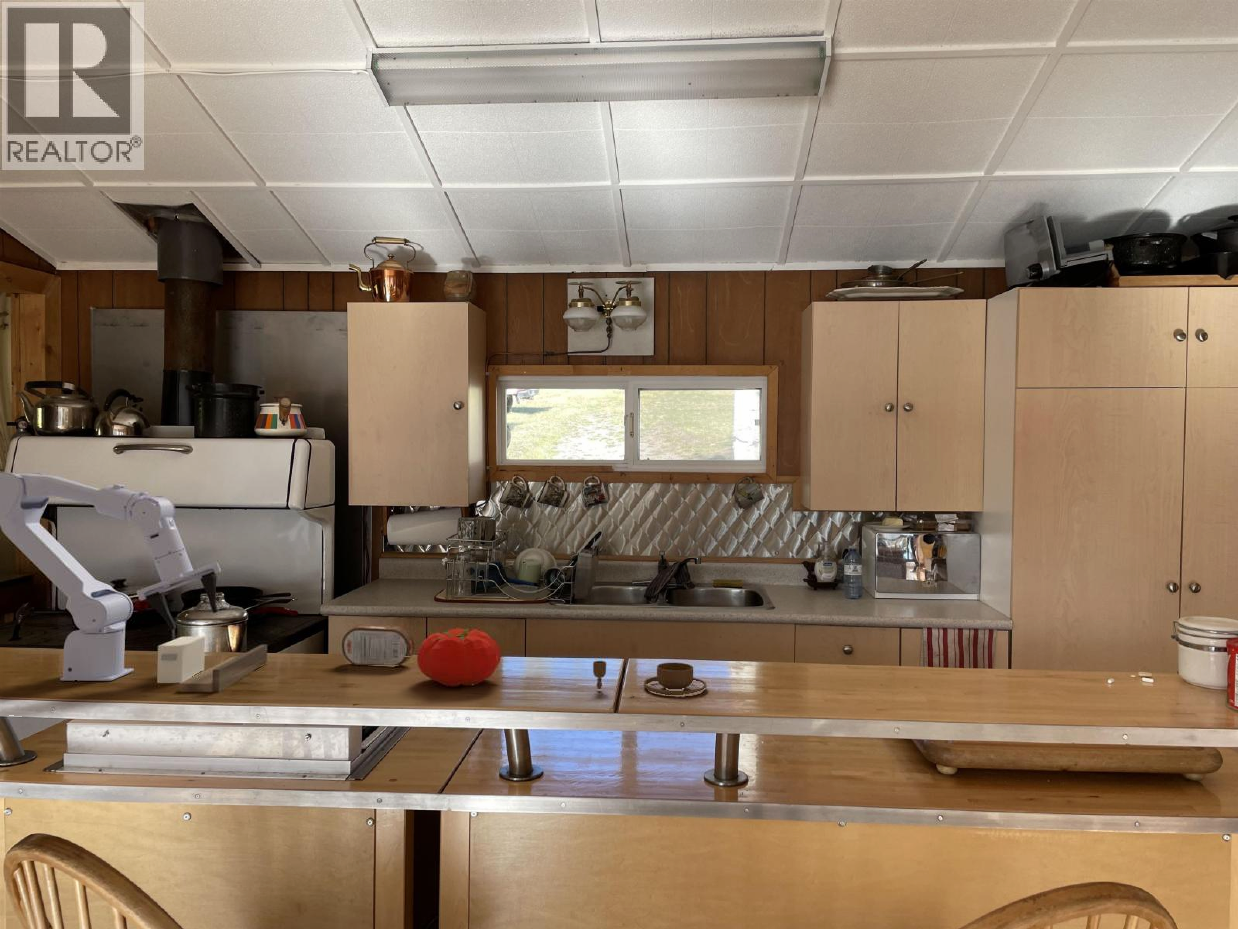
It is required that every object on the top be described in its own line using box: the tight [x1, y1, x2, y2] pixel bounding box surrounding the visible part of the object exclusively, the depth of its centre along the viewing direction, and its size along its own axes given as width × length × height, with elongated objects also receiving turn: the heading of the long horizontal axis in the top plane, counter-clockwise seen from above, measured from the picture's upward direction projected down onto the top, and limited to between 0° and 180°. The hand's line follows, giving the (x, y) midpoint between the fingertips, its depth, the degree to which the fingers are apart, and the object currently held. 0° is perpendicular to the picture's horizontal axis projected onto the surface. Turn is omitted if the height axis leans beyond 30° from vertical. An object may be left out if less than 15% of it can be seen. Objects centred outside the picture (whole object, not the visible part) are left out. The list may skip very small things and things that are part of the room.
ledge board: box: [178, 644, 268, 693], centre depth 155 cm, size 7×22×4 cm, turn 3°
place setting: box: [592, 660, 707, 695], centre depth 152 cm, size 18×20×6 cm
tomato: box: [416, 627, 502, 687], centre depth 153 cm, size 14×16×10 cm
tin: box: [341, 623, 415, 666], centre depth 166 cm, size 15×3×8 cm, turn 84°
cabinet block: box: [156, 636, 206, 684], centre depth 154 cm, size 4×10×7 cm, turn 3°
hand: (195, 620), depth 155 cm, fingers open, 7 cm apart
